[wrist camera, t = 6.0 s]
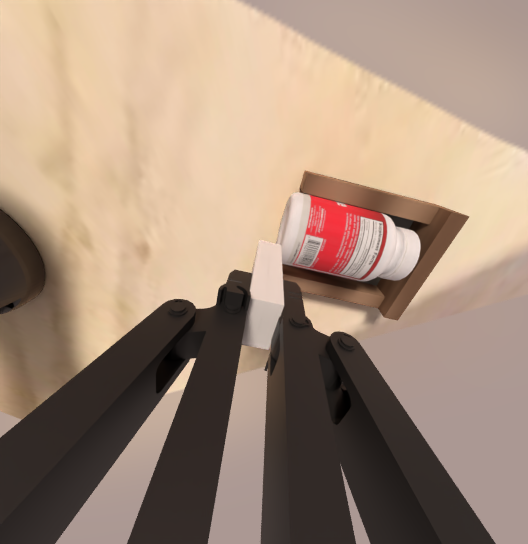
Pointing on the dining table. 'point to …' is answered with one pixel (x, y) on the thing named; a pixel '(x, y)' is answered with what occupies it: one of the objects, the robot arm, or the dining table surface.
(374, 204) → the tray
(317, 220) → the pill bottle
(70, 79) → the dining table surface
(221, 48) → the dining table surface
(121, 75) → the dining table surface
